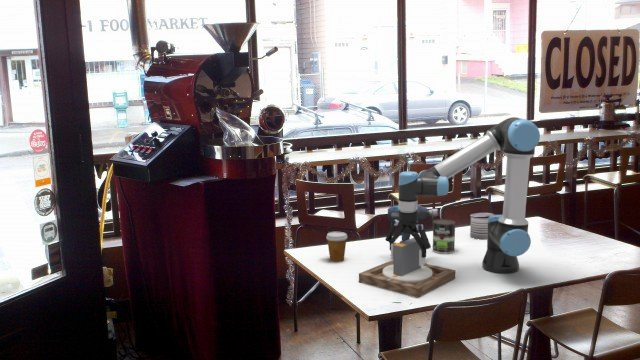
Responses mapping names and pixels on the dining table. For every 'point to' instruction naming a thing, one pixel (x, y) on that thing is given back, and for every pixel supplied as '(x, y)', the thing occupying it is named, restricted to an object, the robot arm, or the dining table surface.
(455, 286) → the dining table surface
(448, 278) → the dial base
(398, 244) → the dial
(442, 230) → the coffee can
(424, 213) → the impact wrench
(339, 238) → the disposable coffee cup
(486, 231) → the can
